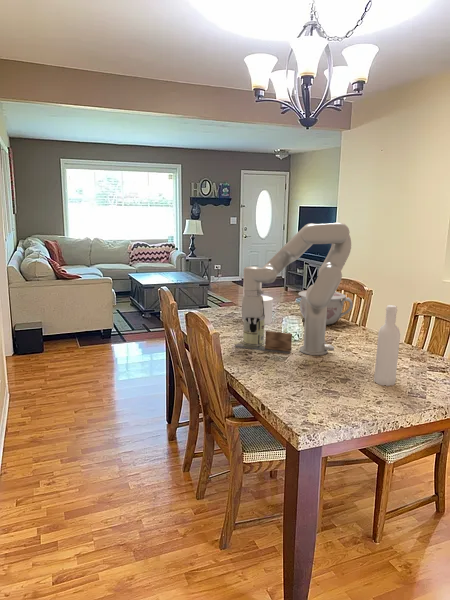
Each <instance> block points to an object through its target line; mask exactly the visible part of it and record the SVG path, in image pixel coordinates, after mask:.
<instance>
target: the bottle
mask: <svg viewBox="0 0 450 600" xmlns="http://www.w3.org/2000/svg"><path fill="white" fill-rule="evenodd" d="M385 310H386V311H385V321H384V324H383V325H381V326H380V327H379V330H378V335H377V344H376V345H377V347H376V353H375V354H376V355H375V356H376V357H375V365H374V374H373V375H374V376H373V378H374V379H373V382H374V383H375V382H376V383H375V384H377V385H380V386H384V385H386V386H385V387H391V386H390V385H392V386H394V385H396V381H397V369H398V360H399V359H398V358H399V351H400V350H399V349H400V340H401V332H400V329H399V327H398V326H397V325H396V322H397V321H396V320H397V314H398V313H397V312H398V306H396V305H395V304H393V305H392V304H388V305H386V308H385Z"/></svg>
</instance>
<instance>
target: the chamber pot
mask: <svg viewBox="0 0 450 600" xmlns="http://www.w3.org/2000/svg"><path fill="white" fill-rule="evenodd" d="M306 292H307V289H306V290H302V291H299V292H298V293H297V295H298V296H300V297H301V299H300V301H299V308H300V309H299V310H300V313H301V315H302V317H303V319H304V320H305V311H306ZM344 302H348V303H349V308H348V309H347V310H346V311H344V312H343V306H345V305H344ZM353 302H354V301H352V298H350V297H347V295H346V294H345V293H341V292H339V291H335V293H334V295H333V297H332V299H331V300H330V302H329V303H328V305H327V316H326V326H329V325H332V324H335V323H336V322H337V321H339V320H340V319H341V318H342V317H343V316H345V315H346V314H348V313H350V311H352V310H353V308H354V303H353Z"/></svg>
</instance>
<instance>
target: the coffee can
mask: <svg viewBox="0 0 450 600" xmlns="http://www.w3.org/2000/svg"><path fill="white" fill-rule="evenodd" d="M264 319H265V315H264ZM252 321H253V323H254V318H252ZM242 330H243V334H242V344H247V345H255V346H263V345H264V343H265V325H264V320H261V321H258V322H257V330H256V331H255V332H254V333H253V332H252V333H251V330H250V324H249V323H248V322H247V321H246V320H244V322H243V329H242Z"/></svg>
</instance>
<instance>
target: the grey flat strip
mask: <svg viewBox="0 0 450 600" xmlns="http://www.w3.org/2000/svg"><path fill="white" fill-rule="evenodd" d="M235 348H240V349H248V350H249V349H250V350H256V351H264V352H272V353H273V352H274V353H281V354H288V355H289V354H290V353H291V351H290V352H289V351H280V350H272V349H265V346H263V345H260V346H255V345H247V344H244V343H237V344H235Z"/></svg>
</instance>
